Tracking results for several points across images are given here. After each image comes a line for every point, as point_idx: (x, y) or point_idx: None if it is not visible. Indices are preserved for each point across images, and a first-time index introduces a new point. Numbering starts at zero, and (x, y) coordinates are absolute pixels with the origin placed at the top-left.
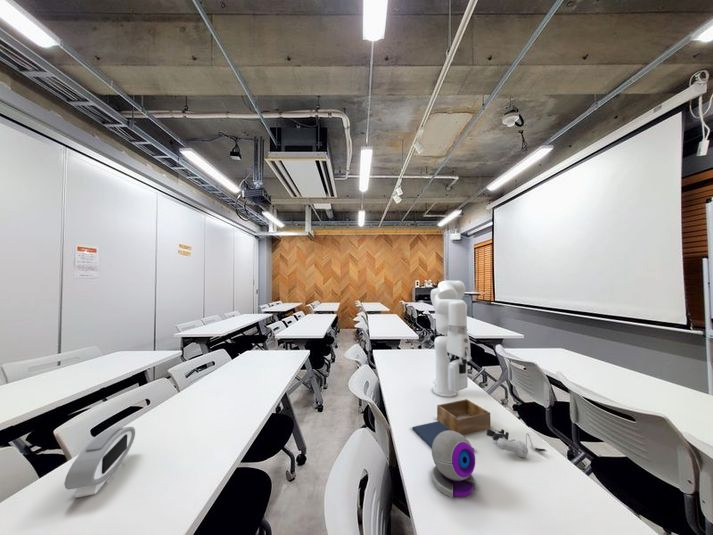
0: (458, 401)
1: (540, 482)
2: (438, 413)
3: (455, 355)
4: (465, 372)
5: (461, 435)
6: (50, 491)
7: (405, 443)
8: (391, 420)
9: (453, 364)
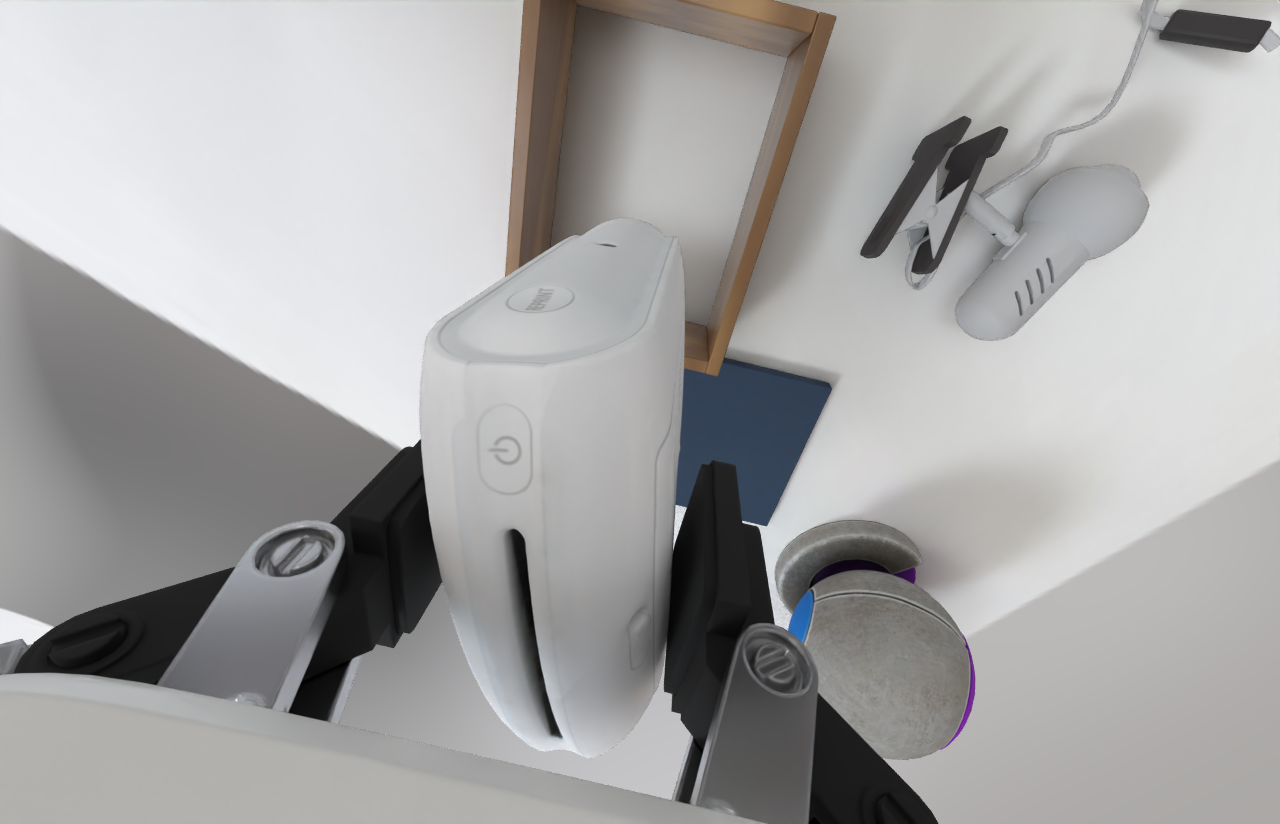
0: (527, 94)
1: (1155, 340)
2: None
3: (301, 667)
4: (731, 474)
5: (935, 721)
6: None
7: None
8: None
9: (606, 749)
